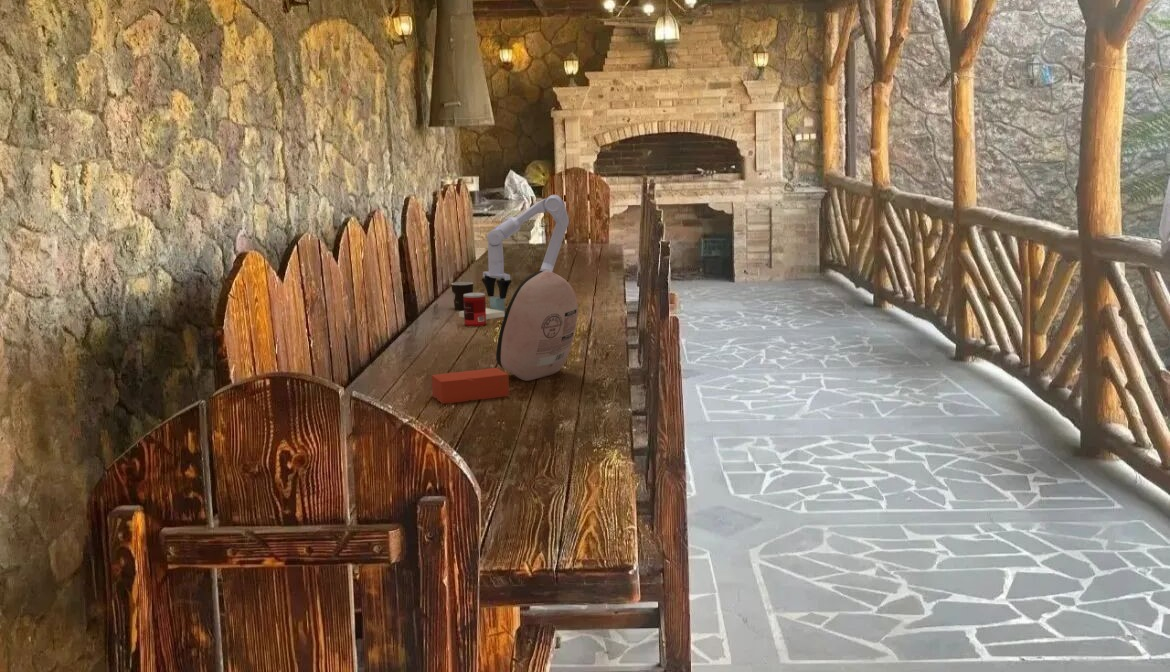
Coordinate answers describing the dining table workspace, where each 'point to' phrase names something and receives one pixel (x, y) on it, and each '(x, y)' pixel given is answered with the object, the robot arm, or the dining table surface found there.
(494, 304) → the block
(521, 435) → the dining table surface
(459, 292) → the coffee mug
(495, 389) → the brick
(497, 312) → the base tile
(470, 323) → the canned food
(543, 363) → the packaged food
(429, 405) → the dining table surface
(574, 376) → the dining table surface
